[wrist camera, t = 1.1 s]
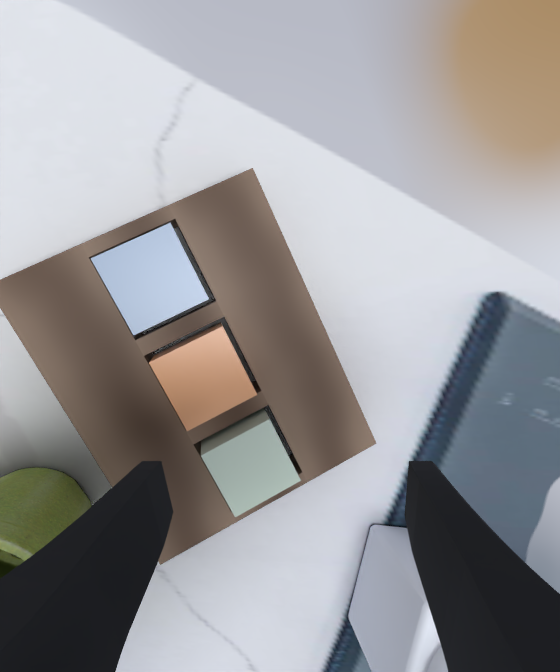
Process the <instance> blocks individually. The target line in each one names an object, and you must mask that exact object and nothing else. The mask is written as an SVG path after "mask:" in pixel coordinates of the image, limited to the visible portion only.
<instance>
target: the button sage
mask: <svg viewBox="0 0 560 672" xmlns="http://www.w3.org/2000/svg"><path fill="white" fill-rule="evenodd" d="M201 457H202V459H203V461H204V463H205V464H206V466H207V468H208V470H209V471H210V473H211V475H212V477H213V479H214V480H215V482H216V484H217V486H218V488H219V489H220V491H221V493H222V495H223V497H224V498H225V500H226V502H227V504H228V505H229V507H230V509H231V511H232V513H233V514H234V516H235V517H237V516H239V515H241V514H242V513H244V512H246V511H248V510H249V509H251V508H253V507H255V506H257V505H258V504H260V503H262V502H264V501H266V500H267V499H269V498H271V497H273V496H274V495H276V494H278V493H280V492H282V491H283V490H285V489H287V488H289V487H291V486H292V485H294V484H296V483H298V482H299V481H301V480H300V478H299V476H298V474H297V472H296V470H295V468H294V466H293V464H292V462H291V460H290V458H289V456H288V454H287V452H286V450H285V448H284V446H283V444H282V442H281V440H280V438H279V436H278V434H277V432H276V430H275V428H274V426H273V424H272V422H271V420H270V418H269V417H268V415H267V413H266V411H265V409H264V408H262V409H260V410H258V411H256V412H254V413H252V414H250V415H248V416H247V417H245V418H243V419H241V420H239V421H237V422H235V423H233V424H231V425H229V426H228V427H226V428H224V429H222V430H220V431H218V432H216V433H214V434H212V435H211V436H209V437H207V438H205V439H203V440H201Z"/></svg>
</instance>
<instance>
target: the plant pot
mask: <svg viewBox="0 0 560 672" xmlns="http://www.w3.org/2000/svg"><path fill="white" fill-rule="evenodd" d="M90 507H92V506H91V503H90V500H89V499H88V498H87V496H86V495H85V494H84V492H83V491H82V489H81V488H80V486H79V485H78V484H77V482H76V481H75V480H74V479H73V478H71V477H70V476H68V475H66V474H64V473H62V472H59V471H56V470H52V469H47V468H25V469H20V470H17V471H14V472H12V473H9V474H7V475H5V476H3V477H1V478H0V578H2V577H3V576H5V575H6V574H8V573H9V572H10V571H12V570H13V569H14V568H16V567H17V566H19V565H20V564H21V563H23V562H24V561H25V560H27V559H28V558H30V557H31V556H32V555H33V554H35V553H36V552H37V551H39V550H40V549H41V548H43V547H44V546H45V545H46V544H48V543H49V542H50V541H51V540H53V539H54V538H55V537H56V536H57V535H59V534H60V533H61V532H62V531H63V530H65V529H66V528H67V527H68V526H69V525H71V524H72V523H73V522H74V521H75V520H77V519H78V518H79V517H80V516H81V515H83V514H84V513H85V512H86V511H87V510H88V509H89V508H90ZM13 555H15V556H17V557H15V556H13ZM18 557H19V558H18Z"/></svg>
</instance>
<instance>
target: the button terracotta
mask: <svg viewBox="0 0 560 672" xmlns="http://www.w3.org/2000/svg"><path fill="white" fill-rule="evenodd" d="M149 364H150V366H151V368H152V369H153V371H154V373H155V375H156V377H157V378H158V380H159V382H160V384H161V386H162V387H163V389H164V391H165V393H166V394H167V396H168V398H169V400H170V402H171V403H172V405H173V407H174V409H175V411H176V412H177V414H178V416H179V418H180V420H181V421H182V423H183V425H184V427H185V428H186V430H187V431H189V430H191V429H193V428H195V427H196V426H198V425H200V424H202V423H204V422H206V421H208V420H210V419H212V418H214V417H216V416H218V415H219V414H221V413H223V412H225V411H227V410H229V409H231V408H233V407H235V406H237V405H239V404H241V403H242V402H244V401H246V400H248V399H250V398H252V397H254V396H256V395H257V393H256V391H255V389H254V387H253V385H252V383H251V381H250V379H249V377H248V375H247V373H246V371H245V369H244V367H243V365H242V363H241V361H240V359H239V357H238V355H237V353H236V351H235V349H234V347H233V345H232V343H231V341H230V339H229V337H228V335H227V333H226V331H225V330H224V328H223V326H222V324H221V322H220V323H218V324H216V325H214V326H212V327H210V328H208V329H206V330H204V331H202V332H200V333H198V334H196V335H194V336H192V337H190V338H187V339H185V340H183V341H181V342H179V343H177V344H175V345H173V346H171V347H169V348H167V349H165V350H163V351H161V352H159V353H157V354H155V355H154V356H153V358H152V359H151V360H150V362H149Z"/></svg>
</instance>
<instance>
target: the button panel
mask: <svg viewBox="0 0 560 672" xmlns="http://www.w3.org/2000/svg"><path fill="white" fill-rule="evenodd" d="M169 223H171V225H172V227H173V229H174V228H176V227H179V229H180V231H181V233H182V235H183V237H184V239H185V241H186V243H187V245H188V247H189V249H190V251H191V253H192V255H193V257H194V259H195V260H196V262H197V264H198V266H199V268H200V270H201V272H202V274H203V276H204V278H205V280H206V282H207V284H208V286H209V288H210V290H211V292H212V294H213V296H214V298H215V300H214V301H212V302H210V303H208V304H206V305H203V306H201V307H199V308H197V309H195V310H193V311H191V312H189V313H187V314H185V315H183V316H181V317H179V318H177V319H174V320H172V321H170V322H168V323H166V324H164V325H162V326H160V327H158V328H156V329H154V330H152V331H150V332H147V333H145V334H142V333H141V332H140V333H138V334H136V335H133V334H132V332H131V330H130V328H129V326H128V325H127V323H126V321H125V319H124V318H123V316H122V314H121V312H120V310H119V309H118V307H117V305H116V303H115V301H114V300H113V298H112V296H111V294H110V292H109V291H108V289H107V287H106V285H105V284H104V282H103V280H102V278H101V276H100V275H99V273H98V271H97V269H96V267H95V266H94V264H93V262H92V260H91V258H93V257H95V256H97V255H100V254H102V253H104V252H106V251H108V250H111V249H113V248H115V247H117V246H120V245H122V244H124V243H126V242H128V241H131V240H133V239H135V238H137V237H140V236H142V235H144V234H146V233H149V232H151V231H153V230H155V229H157V228H160V227H162V226H164V225H166V224H169ZM0 308H1V310H2V311H3V313H4V315H5V316H6V318H7V319H8V321H9V323H10V324H11V326H12V327H13V329H14V331H15V332H16V334H17V335H18V337H19V339H20V340H21V342H22V343H23V345H24V347H25V348H26V350H27V351H28V353H29V355H30V356H31V358H32V359H33V361H34V363H35V364H36V366H37V368H38V369H39V371H40V372H41V374H42V376H43V377H44V379H45V380H46V382H47V384H48V385H49V387H50V388H51V390H52V392H53V393H54V395H55V396H56V398H57V400H58V401H59V403H60V404H61V406H62V408H63V409H64V411H65V412H66V414H67V416H68V417H69V419H70V420H71V422H72V424H73V425H74V427H75V428H76V430H77V432H78V433H79V435H80V436H81V438H82V440H83V441H84V443H85V444H86V446H87V448H88V449H89V451H90V452H91V454H92V456H93V457H94V459H95V460H96V462H97V464H98V465H99V467H100V468H101V470H102V472H103V473H104V475H105V476H106V478H107V480H108V481H109V483H110V484H111V486H112V488H113V487H114V486H115V485H116V484H117V483H118V482H119V481H120V480H121V479H122V478H123V477H125V476H126V475H127V474H128V473H129V472H130V471H131V470H132V469H133V468H134V467H136V466H137V465H138V464H139V463H140V462H141V461H162V465H163V470H164V474H165V478H166V482H167V487H168V491H169V495H170V500H171V504H172V508H173V515H172V519H171V523H170V527H169V531H168V534H167V537H166V541H165V544H164V547H163V550H162V552H161V555H160V558H159V560H158V561H159V563H160V565H161V564H163V563H164V562H166V561H168V560H170V559H171V558H173V557H175V556H177V555H179V554H180V553H182V552H184V551H186V550H187V549H189V548H191V547H193V546H195V545H196V544H198V543H200V542H202V541H203V540H205V539H207V538H209V537H211V536H212V535H214V534H216V533H218V532H220V531H221V530H223V529H225V528H227V527H228V526H230V525H232V524H234V523H236V522H237V521H239V520H241V519H243V518H244V517H246V516H248V515H250V514H252V513H253V512H255V511H257V510H259V509H260V508H262V507H264V506H266V505H268V504H269V503H271V502H273V501H275V500H276V499H278V498H280V497H282V496H284V495H285V494H287V493H289V492H291V491H292V490H294V489H296V488H298V487H300V486H301V485H303V484H305V483H307V482H309V481H310V480H312V479H314V478H316V477H317V476H319V475H321V474H323V473H325V472H326V471H328V470H330V469H332V468H333V467H335V466H337V465H339V464H341V463H342V462H344V461H346V460H348V459H349V458H351V457H353V456H355V455H357V454H358V453H360V452H362V451H364V450H365V449H367V448H369V447H371V446H373V445H374V444H376V442H375V439H374V437H373V435H372V433H371V430H370V428H369V426H368V424H367V421H366V419H365V417H364V415H363V413H362V410H361V408H360V406H359V404H358V401H357V399H356V397H355V395H354V393H353V390H352V388H351V386H350V384H349V381H348V379H347V377H346V375H345V373H344V370H343V368H342V366H341V364H340V361H339V359H338V357H337V355H336V352H335V350H334V348H333V346H332V344H331V341H330V339H329V337H328V335H327V332H326V330H325V328H324V326H323V324H322V321H321V319H320V317H319V315H318V312H317V310H316V308H315V306H314V304H313V301H312V299H311V297H310V295H309V292H308V290H307V288H306V286H305V283H304V281H303V279H302V277H301V275H300V272H299V270H298V268H297V266H296V263H295V261H294V259H293V257H292V255H291V252H290V250H289V248H288V246H287V243H286V241H285V239H284V237H283V235H282V232H281V230H280V228H279V226H278V223H277V221H276V219H275V217H274V214H273V212H272V210H271V208H270V206H269V203H268V201H267V199H266V197H265V194H264V192H263V190H262V188H261V186H260V183H259V181H258V179H257V177H256V174H255V172H254V170H253V168H252V169H249V170H247V171H245V172H243V173H240V174H238V175H236V176H234V177H231V178H229V179H227V180H225V181H222V182H220V183H218V184H215V185H213V186H211V187H209V188H206V189H204V190H202V191H200V192H197V193H195V194H193V195H191V196H188V197H186V198H184V199H182V200H179V201H177V202H175V203H173V204H170V205H168V206H166V207H164V208H161V209H159V210H157V211H154V212H152V213H150V214H148V215H145V216H143V217H141V218H139V219H136V220H134V221H132V222H130V223H127V224H125V225H123V226H121V227H118V228H116V229H114V230H112V231H109V232H107V233H105V234H103V235H100V236H98V237H96V238H94V239H91V240H89V241H87V242H84V243H82V244H80V245H78V246H75V247H73V248H71V249H69V250H66V251H64V252H62V253H60V254H57V255H55V256H53V257H51V258H48V259H46V260H44V261H42V262H39V263H37V264H35V265H33V266H30V267H28V268H26V269H23V270H21V271H19V272H17V273H14V274H12V275H10V276H8V277H5V278H3V279H1V280H0ZM222 317H224V318H225V320H226V322H227V324H228V326H229V328H230V330H231V332H232V334H233V336H234V338H235V340H236V342H237V344H238V346H239V348H240V350H241V352H242V354H243V356H244V358H245V360H246V362H247V364H248V366H249V368H250V370H251V372H252V374H253V376H254V378H255V380H256V381H254V382H252V385H253V387H254V389H255V391H256V393H257V395H256V396H254V397H252V398H250V399H248V400H246V401H244V402H242V403H241V404H239V405H237V406H235V407H233V408H231V409H229V410H227V411H225V412H223V413H221V414H219V415H218V416H216V417H214V418H212V419H210V420H208V421H206V422H204V423H202V424H200V425H198V426H196V427H195V428H193V429H191V430H189V431H187V430H186V428H185V427H184V425H183V423H182V421H181V420H180V418H179V416H178V414H177V412H176V411H175V409H174V407H173V405H172V403H171V402H170V400H169V398H168V396H167V394H166V393H165V391H164V389H163V387H162V386H161V384H160V382H159V380H158V378H157V377H156V375H155V373H154V371H153V369H152V368H151V366H150V364H149V362H150V360H151V359H152V358H153V356H154V354H153V351H155V350H157V349H159V348H161V347H163V346H165V345H167V344H169V343H171V342H173V341H175V340H177V339H179V338H181V337H183V336H185V335H188V334H190V333H192V332H194V331H196V330H198V329H200V328H202V327H204V326H206V325H208V324H210V323H212V322H214V321H216V320H218V319H220V318H222ZM267 405H268V406H269V408H270V410H271V412H272V414H273V416H274V418H275V420H276V422H277V424H278V426H279V428H280V430H281V432H282V434H283V436H284V438H285V440H286V442H287V444H288V446H289V448H290V450H291V452H292V455H291V456H289V458H290V460H291V462H292V464H293V466H294V468H295V470H296V472H297V474H298V476H299V478H300V480H301V481H299V482H298V483H296V484H294V485H292V486H291V487H289V488H287V489H285V490H283V491H282V492H280V493H278V494H276V495H274V496H273V497H271V498H269V499H267V500H266V501H264V502H262V503H260V504H258V505H257V506H255V507H253V508H251V509H249V510H248V511H246V512H244V513H242V514H241V515H239V516H237V517H235V516H234V514H233V513H232V511H231V509H230V507H229V505H228V504H227V502H226V500H225V498H224V497H223V495H222V493H221V491H220V489H219V488H218V486H217V484H216V482H215V480H214V479H213V477H212V475H211V473H210V471H209V470H208V468H207V466H206V464H205V463H204V461H203V459H202V457H201V440H203V439H205V438H207V437H209V436H211V435H212V434H214V433H216V432H218V431H220V430H222V429H224V428H226V427H228V426H229V425H231V424H233V423H235V422H237V421H239V420H241V419H243V418H245V417H247V416H248V415H250V414H252V413H254V412H256V411H258V410H260V409H262V408H264V407H265V406H267Z"/></svg>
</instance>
